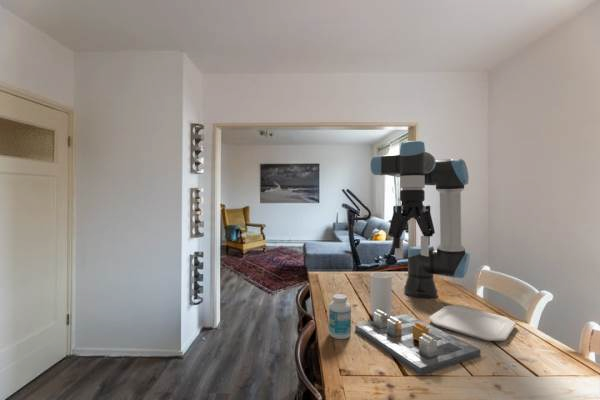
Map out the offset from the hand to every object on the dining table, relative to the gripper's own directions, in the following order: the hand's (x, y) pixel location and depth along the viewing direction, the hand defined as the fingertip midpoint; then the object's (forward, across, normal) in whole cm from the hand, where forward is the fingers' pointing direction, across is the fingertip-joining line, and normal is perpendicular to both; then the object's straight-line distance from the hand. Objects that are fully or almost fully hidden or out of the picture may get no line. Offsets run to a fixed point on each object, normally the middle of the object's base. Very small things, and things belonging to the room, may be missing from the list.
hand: (412, 257), depth 99 cm
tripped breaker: (+26, 0, +4) cm, 26 cm away
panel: (+28, 0, 0) cm, 28 cm away
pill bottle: (+28, +19, -14) cm, 37 cm away
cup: (+28, -6, -23) cm, 37 cm away
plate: (+28, -30, -1) cm, 41 cm away
